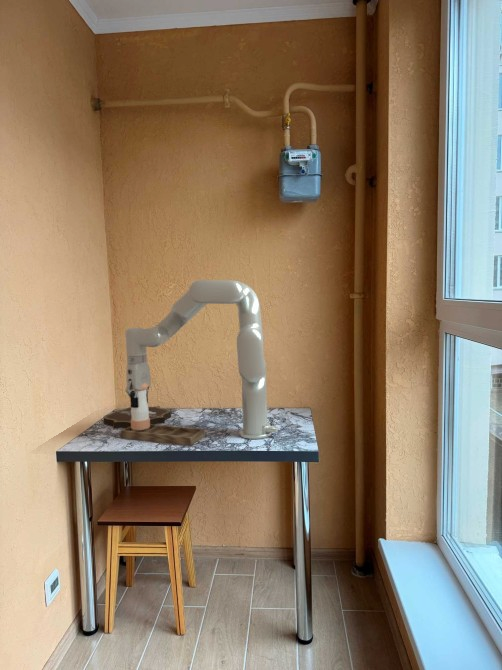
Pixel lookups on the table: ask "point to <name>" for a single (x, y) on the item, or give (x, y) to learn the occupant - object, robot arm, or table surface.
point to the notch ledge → (165, 434)
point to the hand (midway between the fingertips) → (139, 405)
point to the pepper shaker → (140, 410)
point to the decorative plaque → (124, 417)
